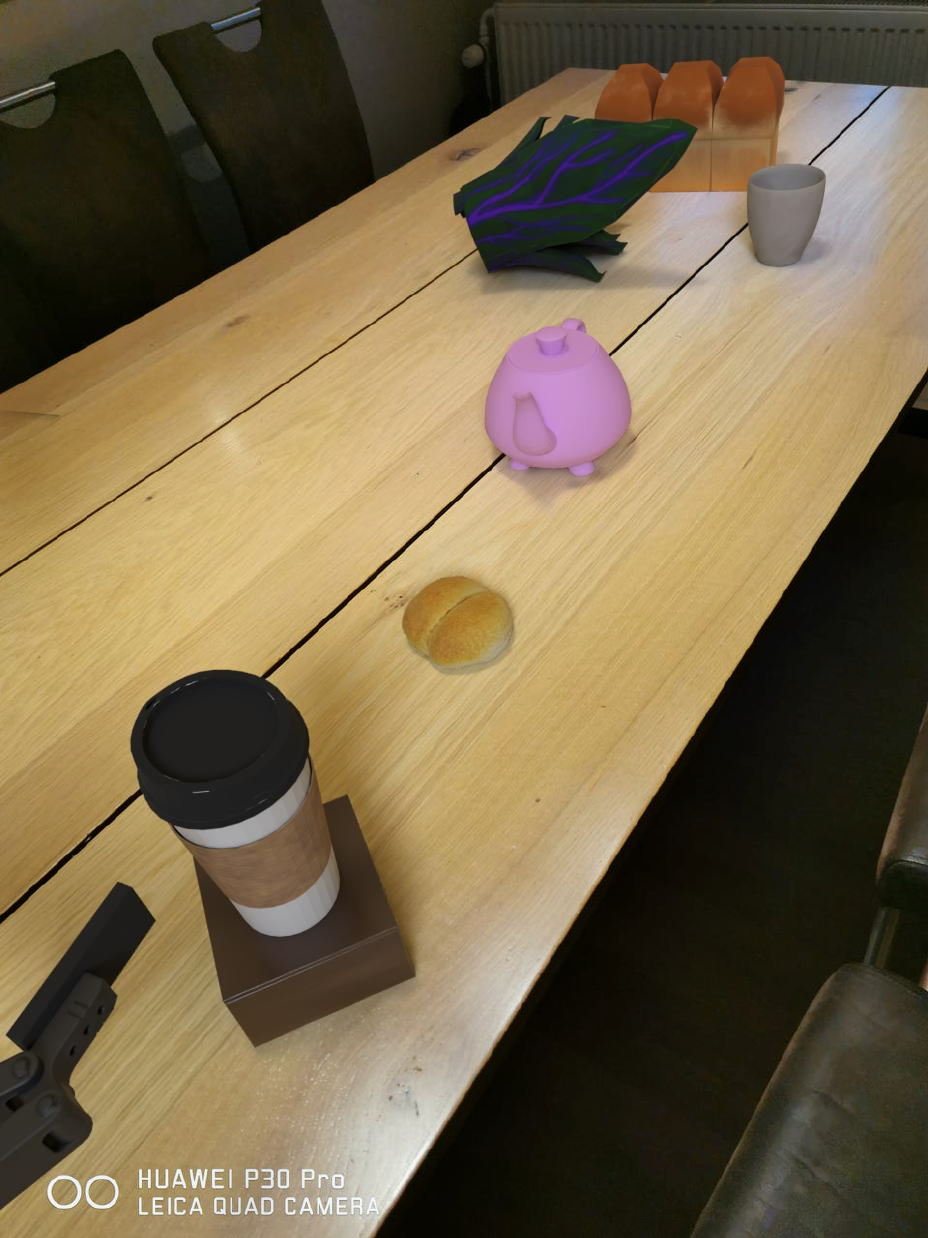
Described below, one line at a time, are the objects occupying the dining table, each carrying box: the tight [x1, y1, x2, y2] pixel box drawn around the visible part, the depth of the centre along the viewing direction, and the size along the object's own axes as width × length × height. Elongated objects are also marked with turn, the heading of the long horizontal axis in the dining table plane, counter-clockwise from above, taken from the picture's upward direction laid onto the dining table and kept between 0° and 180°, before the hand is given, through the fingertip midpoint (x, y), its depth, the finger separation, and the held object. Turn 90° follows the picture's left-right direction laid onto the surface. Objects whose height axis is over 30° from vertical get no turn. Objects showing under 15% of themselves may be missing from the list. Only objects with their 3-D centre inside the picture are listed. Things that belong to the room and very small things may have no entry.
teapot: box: [483, 317, 633, 477], centre depth 90 cm, size 20×14×12 cm
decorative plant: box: [452, 114, 698, 283], centre depth 118 cm, size 21×26×30 cm
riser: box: [192, 793, 416, 1048], centre depth 57 cm, size 10×10×6 cm
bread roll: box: [401, 575, 514, 670], centre depth 76 cm, size 8×9×4 cm
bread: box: [593, 56, 786, 193], centre depth 137 cm, size 25×12×15 cm, turn 71°
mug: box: [746, 163, 827, 267], centre depth 117 cm, size 12×9×10 cm
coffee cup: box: [129, 669, 340, 937], centre depth 50 cm, size 8×8×15 cm
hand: (15, 854), depth 41 cm, fingers open, 13 cm apart
